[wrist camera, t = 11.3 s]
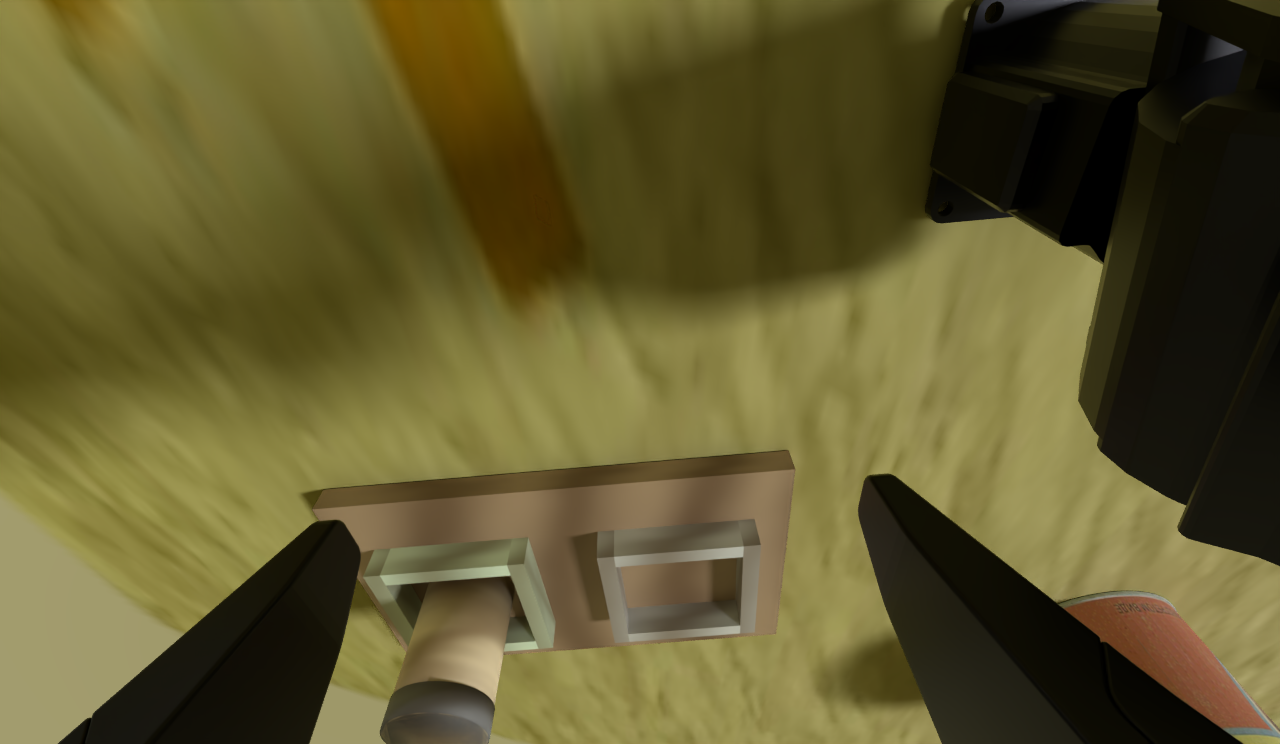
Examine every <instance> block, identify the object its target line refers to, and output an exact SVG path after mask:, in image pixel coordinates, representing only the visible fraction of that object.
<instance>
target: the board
mask: <svg viewBox="0 0 1280 744" xmlns="http://www.w3.org/2000/svg"><path fill="white" fill-rule="evenodd" d="M794 476H795V467H794V464H793V462H792V459H791V456H790V453H789V451H777V452H765V453H753V454H741V455H729V456H717V457H705V458H694V459H682V460H670V461H658V462H646V463H634V464H622V465H610V466H598V467H586V468H575V469H563V470H551V471H539V472H527V473H515V474H503V475H491V476H479V477H467V478H456V479H444V480H432V481H420V482H408V483H396V484H384V485H372V486H360V487H348V488H336V489H325V490H323V491H322V493H321V495H320V496H319V498H318V500H317V502H316V503H315V505H314V507H313V509H312V510H313V512H314V513H315V515H316V516H317V518H318V519H319V521H324V520H336V519H337V520H341V521H342V522H344V524H345V525H346V527H347V528H348V530H349V531H350V533H351V535H352V536H353V538H354V539H355V541H356V543H357V544H358V546H359V548H360V552H361V562H360V567H359V571H358V576H357V578H358V580H359V582H360V583H361V585H362V586H363V588H364V589H365V591H366V592H367V594H368V595H369V597H370V598H371V600H372V601H373V603H374V604H375V606H376V607H377V609H378V610H379V612H380V613H381V615H382V616H383V618H384V619H385V621H386V622H387V624H388V625H389V627H390V628H391V630H392V632H393V633H394V635H395V636H396V638H397V639H398V641H399V642H400V644H401V645H402V647H403V648H404V650H405V651H406V652H407V649H408V646H409V643H410V640H411V637H412V634H413V631H414V628H415V624H416V621H417V618H418V615H419V612H420V609H421V606H422V603H423V600H424V597H425V594H426V591H427V587H428V584H429V582H437V581H449V580H462V579H474V578H487V577H499V576H507V577H508V578H509V579H510V580H511V581H512V583H513V585H514V597H513V603H512V608H511V614H510V620H509V625H508V631H507V636H506V642H505V648H504V653H503V655H509V654H522V653H535V652H548V651H561V650H575V649H588V648H601V647H614V646H627V645H640V644H653V643H666V642H679V641H692V640H705V639H719V638H732V637H745V636H758V635H771V634H776V630H777V622H778V613H779V605H780V596H781V588H782V579H783V570H784V562H785V553H786V545H787V536H788V527H789V519H790V510H791V502H792V493H793V484H794Z"/></svg>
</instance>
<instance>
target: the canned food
mask: <svg viewBox="0 0 1280 744" xmlns="http://www.w3.org/2000/svg"><path fill="white" fill-rule="evenodd" d="M1059 605H1060V606H1061V607H1062V608H1064V609H1065V610H1066V611H1068V612H1069V613H1070V614H1071V615H1073V616H1074V617H1075V618H1076V619H1078V620H1079V621H1080V622H1081V623H1083V624H1084V625H1085V626H1087V627H1088V628H1089V629H1090V630H1092V631H1093V632H1094V633H1095V634H1097V635H1098V636H1099V637H1100V639H1101V642H1102V641H1105V642H1107V643H1109V644H1110V645H1111V646H1112V647H1114V648H1115V649H1116V650H1117V651H1119V652H1120V653H1121V654H1123V655H1124V656H1125V657H1126V658H1128V659H1129V660H1130V661H1131V662H1133V663H1134V664H1135V665H1137V666H1138V667H1139V668H1141V669H1142V670H1143V671H1144V672H1146V673H1147V674H1148V675H1150V676H1151V677H1152V678H1154V679H1155V680H1156V681H1158V682H1159V683H1160V684H1162V685H1163V686H1164V687H1166V688H1167V689H1168V690H1170V691H1171V692H1172V693H1173V694H1175V695H1176V696H1177V697H1179V698H1180V699H1182V700H1183V701H1184V702H1186V703H1187V704H1189V705H1190V706H1191V707H1193V708H1194V709H1196V710H1197V711H1198V712H1200V713H1201V714H1203V715H1204V716H1205V717H1207V718H1208V719H1210V720H1211V721H1212V722H1214V723H1215V724H1217V725H1218V726H1219V727H1221V728H1222V729H1224V730H1225V731H1226V732H1228V733H1229V734H1231V735H1232V736H1234V737H1235V738H1236V739H1238V740H1239V741H1241V742H1242V743H1244V744H1280V729H1279V728H1278V727H1277V726H1276V724H1275V723H1274V722H1273V721H1272V720H1271V719H1270V718H1269V716H1268V715H1267V714H1266V713H1265V712H1264V711H1263V710H1262V709H1261V707H1260V706H1259V705H1258V704H1257V703H1256V702H1255V701H1254V699H1253V698H1252V697H1251V696H1250V695H1249V694H1248V693H1247V691H1246V690H1245V689H1244V688H1243V687H1242V686H1241V685H1240V684H1239V682H1238V681H1237V680H1236V679H1235V678H1234V677H1233V676H1232V674H1231V673H1230V672H1229V671H1228V670H1227V669H1226V668H1225V667H1224V665H1223V664H1222V663H1221V662H1220V661H1219V660H1218V659H1217V657H1216V656H1215V655H1214V654H1213V653H1212V652H1211V651H1210V649H1209V648H1208V647H1207V646H1206V645H1205V644H1204V643H1203V642H1202V640H1201V639H1200V638H1199V637H1198V636H1197V635H1196V634H1195V632H1194V631H1193V630H1192V629H1191V628H1190V627H1189V626H1188V625H1187V623H1186V622H1185V621H1184V620H1183V619H1182V618H1181V617H1180V615H1179V614H1178V613H1177V611H1176V609H1175V607H1174V606H1173V605H1172V604H1171V603H1170V602H1169V601H1168V600H1166V599H1165V598H1163V597H1161V596H1158V595H1155V594H1152V593H1147V592H1139V591H1114V592H1105V593H1098V594H1092V595H1088V596H1083V597H1079V598H1075V599H1072V600H1069V601H1065V602H1062V603H1059Z"/></svg>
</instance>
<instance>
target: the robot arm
mask: <svg viewBox="0 0 1280 744" xmlns="http://www.w3.org/2000/svg"><path fill="white" fill-rule="evenodd" d="M992 3H995V5H996V11H995V13H994V16H993V17H992V18H991V19H990V20H989V21H987V22H986V20H985V12H986V10H987V8H988V7H989V6H990V5H991V4H992ZM930 166H931V167H932V168H933V174H932V178H931V182H930V187H929V191H928V196H927V200H926V205H925V213H926V215H927V216H928V217H929V218H931V219H932V220H933V221H935V222H936V223H951V222H962V221H973V220H983V219H994V218H1005V217H1015V218H1017V219H1019V220H1020V221H1022V222H1024V223H1025V224H1027V225H1029V226H1030V227H1032V228H1034V229H1035V230H1037V231H1039V232H1040V233H1042V234H1044V235H1045V236H1047V237H1048V238H1050V239H1052V240H1053V241H1055V242H1057V243H1058V244H1060V245H1062V246H1067V247H1069V246H1073V247H1074V248H1076V249H1078V250H1079V251H1081V252H1083V253H1084V254H1086V255H1088V256H1089V257H1091V258H1093V259H1095V260H1096V261H1098V262H1100V263H1101V264H1103V269H1102V274H1101V279H1100V283H1099V288H1098V293H1097V297H1096V302H1095V307H1094V312H1093V316H1092V321H1091V326H1090V327H1089V332H1088V336H1087V341H1086V349H1085V354H1084V359H1083V363H1082V368H1081V373H1080V383H1079V398H1078V401H1079V403H1080V405H1081V407H1082V409H1083V411H1084V413H1085V415H1086V417H1087V418H1088V420H1089V422H1090V424H1091V426H1092V428H1093V430H1094V431H1095V432H1096V433H1097V435H1098V436H1099V438H1098V442H1097V446H1098V448H1099V450H1100V451H1101V452H1102V453H1103V454H1104V455H1106V456H1107V457H1108V458H1109V459H1110V460H1112V461H1113V462H1114V463H1115V464H1116V465H1117V466H1119V467H1120V468H1121V469H1122V470H1123V471H1124V472H1126V473H1127V474H1129V475H1130V476H1132V477H1134V478H1136V479H1137V480H1139V481H1141V482H1142V483H1144V484H1146V485H1148V486H1149V487H1151V488H1153V489H1154V490H1156V491H1158V492H1159V493H1161V494H1163V495H1165V496H1166V497H1168V498H1170V499H1172V500H1175V501H1177V502H1179V503H1181V504H1184V505H1186V508H1185V510H1184V512H1183V515H1182V517H1181V519H1180V522H1179V524H1178V526H1177V527H1178V531H1179V532H1180V533H1181V534H1182V535H1183V536H1185V537H1186V538H1188V539H1192V540H1195V541H1198V542H1202V543H1206V544H1210V545H1214V546H1218V547H1221V548H1225V549H1229V550H1233V551H1237V552H1240V553H1244V554H1248V555H1252V556H1256V557H1259V558H1261V559H1264V560H1266V561H1269V562H1271V563H1274V564H1276V565H1279V566H1280V0H975V1H974V3H973V4H972V6H971V8H970V11H969V13H968V18H967V22H966V26H965V31H964V35H963V40H962V44H961V49H960V53H959V58H958V62H957V67H956V71H955V75H954V76H953V77H952V78H951V79H950V81H949V82H948V84H947V89H946V93H945V98H944V102H943V107H942V111H941V116H940V121H939V125H938V130H937V134H936V139H935V143H934V148H933V152H932V157H931V162H930ZM947 201H948V205H947V206H946V208H945V209H944V210H943V211H941V212H938V208H939V206H940V205H941V204H942V203H944V202H947ZM858 515H859V520H860V524H861V527H862V531H863V534H864V538H865V541H866V544H867V548H868V551H869V555H870V558H871V562H872V565H873V568H874V572H875V575H876V579H877V582H878V585H879V589H880V592H881V595H882V598H883V602H884V605H885V607H886V610H887V613H888V615H889V618H890V620H891V623H892V625H893V628H894V630H895V632H896V635H897V637H898V639H899V642H900V644H901V647H902V649H903V651H904V654H905V656H906V659H907V661H908V663H909V666H910V668H911V671H912V673H913V675H914V678H915V680H916V683H917V685H918V687H919V690H920V692H921V695H922V697H923V699H924V702H925V704H926V706H927V709H928V711H929V714H930V716H931V718H932V721H933V723H934V726H935V728H936V730H937V733H938V735H939V738H940V740H941V742H942V744H1244V743H1242V742H1241V741H1239V740H1238V739H1236V738H1235V737H1234V736H1232V735H1231V734H1229V733H1228V732H1226V731H1225V730H1224V729H1222V728H1221V727H1219V726H1218V725H1217V724H1215V723H1214V722H1212V721H1211V720H1210V719H1208V718H1207V717H1205V716H1204V715H1203V714H1201V713H1200V712H1198V711H1197V710H1196V709H1194V708H1193V707H1191V706H1190V705H1189V704H1187V703H1186V702H1184V701H1183V700H1182V699H1180V698H1179V697H1177V696H1176V695H1175V694H1173V693H1172V692H1171V691H1170V690H1168V689H1167V688H1166V687H1164V686H1163V685H1162V684H1160V683H1159V682H1158V681H1156V680H1155V679H1154V678H1152V677H1151V676H1150V675H1148V674H1147V673H1146V672H1144V671H1143V670H1142V669H1141V668H1139V667H1138V666H1137V665H1135V664H1134V663H1133V662H1131V661H1130V660H1129V659H1128V658H1126V657H1125V656H1124V655H1123V654H1121V653H1120V652H1119V651H1117V650H1116V649H1115V648H1114V647H1112V646H1111V645H1110V644H1109V643H1107V642H1105V641H1102V642H1101V639H1100V637H1099V636H1098V635H1097V634H1095V633H1094V632H1093V631H1092V630H1090V629H1089V628H1088V627H1087V626H1085V625H1084V624H1083V623H1081V622H1080V621H1079V620H1078V619H1076V618H1075V617H1074V616H1073V615H1071V614H1070V613H1069V612H1068V611H1066V610H1065V609H1064V608H1062V607H1061V606H1060V605H1059V604H1057V603H1056V602H1055V601H1054V600H1052V599H1051V598H1050V597H1048V596H1047V595H1046V594H1045V593H1043V592H1042V591H1041V590H1040V589H1038V588H1037V587H1036V586H1034V585H1033V584H1032V583H1031V582H1029V581H1028V580H1027V579H1026V578H1024V577H1023V576H1022V575H1020V574H1019V573H1018V572H1017V571H1015V570H1014V569H1013V568H1012V567H1010V566H1009V565H1008V564H1006V563H1005V562H1004V561H1003V560H1001V559H1000V558H999V557H998V556H996V555H995V554H994V553H992V552H991V551H990V550H989V549H987V548H986V547H985V546H984V545H982V544H981V543H980V542H978V541H977V540H976V539H975V538H973V537H972V536H971V535H970V534H968V533H967V532H966V531H964V530H963V529H962V528H961V527H959V526H958V525H957V524H956V523H954V522H953V521H952V520H950V519H949V518H948V517H947V516H945V515H944V514H943V513H942V512H940V511H939V510H938V509H937V508H935V507H934V506H933V505H931V504H930V503H929V502H928V501H926V500H925V499H924V498H923V497H921V496H920V495H919V494H917V493H916V492H915V491H914V490H912V489H911V488H910V487H909V486H907V485H906V484H905V483H903V482H902V481H901V480H900V479H898V478H897V477H896V476H894V475H892V474H876V475H869V476H867V477H866V478H865V480H864V484H863V488H862V493H861V497H860V502H859V507H858ZM360 562H361V552H360V548H359V546H358V544H357V543H356V541H355V539H354V538H353V536H352V535H351V533H350V531H349V530H348V528H347V527H346V525H345V524H344V522H342V521H341V520H337V519H336V520H324V521H317V522H315V523H313V524H311V525H310V526H309V527H308V528H307V529H305V530H304V531H303V532H302V533H301V534H300V535H298V536H297V537H296V538H295V539H294V540H293V541H292V542H290V543H289V544H288V545H287V546H286V547H285V548H283V549H282V550H281V551H280V552H279V553H278V554H277V555H275V556H274V557H273V558H272V559H271V560H270V561H268V562H267V563H266V564H265V565H264V566H263V567H262V568H260V569H259V570H258V571H257V572H256V573H255V574H253V575H252V576H251V577H250V578H249V579H248V580H246V581H245V582H244V583H243V584H242V585H241V586H240V587H238V588H237V589H236V590H235V591H234V592H233V593H231V594H230V595H229V596H228V597H227V598H226V599H225V600H223V601H222V602H221V603H220V604H219V605H218V606H216V607H215V608H214V609H213V610H212V611H211V612H210V613H208V614H207V615H206V616H205V617H204V618H203V619H201V620H200V621H199V622H198V623H197V624H196V625H194V626H193V627H192V628H191V629H190V630H189V631H188V632H186V633H185V634H184V635H183V636H182V637H181V638H179V639H178V640H177V641H176V642H175V643H174V644H173V645H171V646H170V647H169V648H168V649H167V650H166V651H164V652H163V653H162V654H161V655H160V656H159V657H158V658H156V659H155V660H154V661H153V662H152V663H151V664H149V665H148V666H147V667H146V668H145V669H144V670H142V671H141V672H140V673H139V674H138V675H137V676H136V677H134V678H133V679H132V680H131V681H130V682H129V683H127V684H126V685H125V686H124V687H123V688H122V689H121V690H119V691H118V692H117V693H116V694H115V695H114V696H112V697H111V698H110V699H109V700H108V701H107V702H106V703H104V704H103V705H102V706H101V707H100V708H99V709H97V710H96V711H95V712H94V713H93V715H92V718H87V719H86V720H85V721H83V722H82V723H81V724H80V725H79V726H78V727H76V728H75V729H74V730H73V731H72V732H71V733H70V734H68V735H67V736H66V737H65V738H64V739H63V740H61V741H60V742H59V743H58V744H309V743H310V740H311V737H312V734H313V731H314V728H315V725H316V722H317V719H318V716H319V713H320V710H321V707H322V704H323V701H324V698H325V695H326V692H327V689H328V686H329V683H330V680H331V677H332V674H333V671H334V668H335V665H336V662H337V659H338V656H339V652H340V649H341V645H342V642H343V638H344V634H345V629H346V625H347V620H348V616H349V611H350V607H351V603H352V598H353V594H354V589H355V585H356V580H357V576H358V571H359V567H360Z"/></svg>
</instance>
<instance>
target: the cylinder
mask: <svg viewBox="0 0 1280 744" xmlns="http://www.w3.org/2000/svg"><path fill="white" fill-rule="evenodd" d="M513 597H514V585H513V583H512V581H511V580H510V579H509V578H508V577H507V576H499V577H487V578H474V579H462V580H449V581H437V582H429V584H428V587H427V591H426V594H425V597H424V600H423V603H422V606H421V609H420V612H419V615H418V618H417V621H416V624H415V628H414V631H413V634H412V637H411V640H410V643H409V646H408V649H407V652H406V655H405V658H404V662H403V665H402V668H401V671H400V674H399V677H398V680H397V683H396V686H395V689H394V692H393V694H392V696H391V698H390V701H389V704H388V707H387V711H386V713H385V717H384V720H383V723H382V726H381V729H380V736H381V738H382V740H383V741H384V742H385V743H386V744H488V743H489V739H490V734H491V728H492V722H493V717H494V711H495V706H494V704H495V699H496V693H497V687H498V682H499V676H500V670H501V665H502V659H503V653H504V648H505V642H506V636H507V631H508V625H509V620H510V614H511V608H512V603H513Z"/></svg>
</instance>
